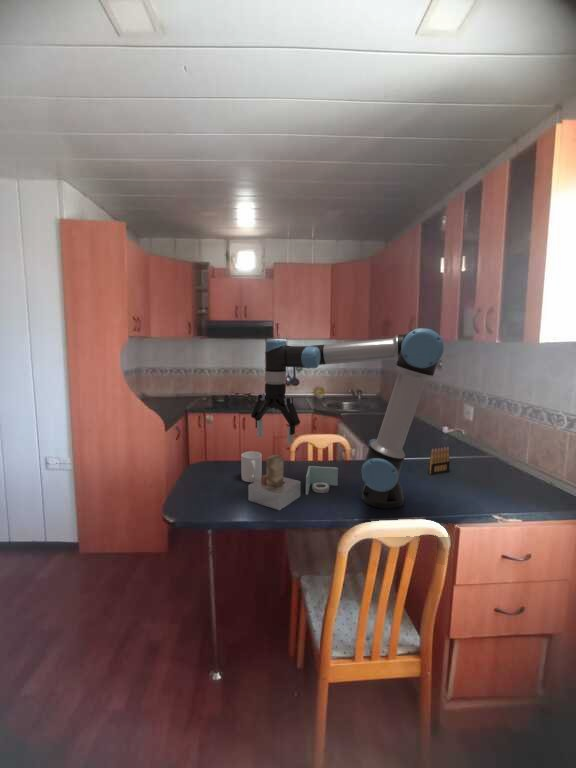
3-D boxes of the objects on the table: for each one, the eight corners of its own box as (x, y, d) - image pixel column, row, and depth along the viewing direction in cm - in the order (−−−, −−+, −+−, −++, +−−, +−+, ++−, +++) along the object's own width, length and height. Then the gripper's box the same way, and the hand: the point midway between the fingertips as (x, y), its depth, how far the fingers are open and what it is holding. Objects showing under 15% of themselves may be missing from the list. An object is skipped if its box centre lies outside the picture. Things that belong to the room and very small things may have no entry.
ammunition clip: (431, 475, 163) (432, 449, 162) (428, 473, 165) (429, 447, 163) (449, 472, 167) (451, 446, 166) (446, 470, 169) (448, 445, 167)
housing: (300, 496, 140) (300, 476, 139) (279, 510, 128) (279, 488, 127) (270, 487, 147) (270, 468, 146) (248, 500, 135) (248, 479, 134)
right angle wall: (305, 495, 141) (305, 476, 140) (308, 483, 153) (308, 465, 152) (336, 497, 140) (337, 478, 139) (337, 485, 151) (338, 467, 150)
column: (283, 497, 138) (283, 456, 136) (276, 502, 134) (276, 460, 132) (273, 494, 141) (273, 454, 139) (265, 499, 137) (266, 457, 135)
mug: (244, 486, 148) (243, 461, 147) (240, 475, 159) (240, 452, 158) (264, 484, 150) (265, 459, 149) (259, 474, 162) (259, 450, 160)
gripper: (310, 384, 128) (308, 443, 131) (254, 379, 142) (254, 432, 145) (299, 387, 122) (298, 448, 125) (242, 380, 136) (241, 436, 138)
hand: (274, 440), depth 135 cm, fingers open, 13 cm apart
